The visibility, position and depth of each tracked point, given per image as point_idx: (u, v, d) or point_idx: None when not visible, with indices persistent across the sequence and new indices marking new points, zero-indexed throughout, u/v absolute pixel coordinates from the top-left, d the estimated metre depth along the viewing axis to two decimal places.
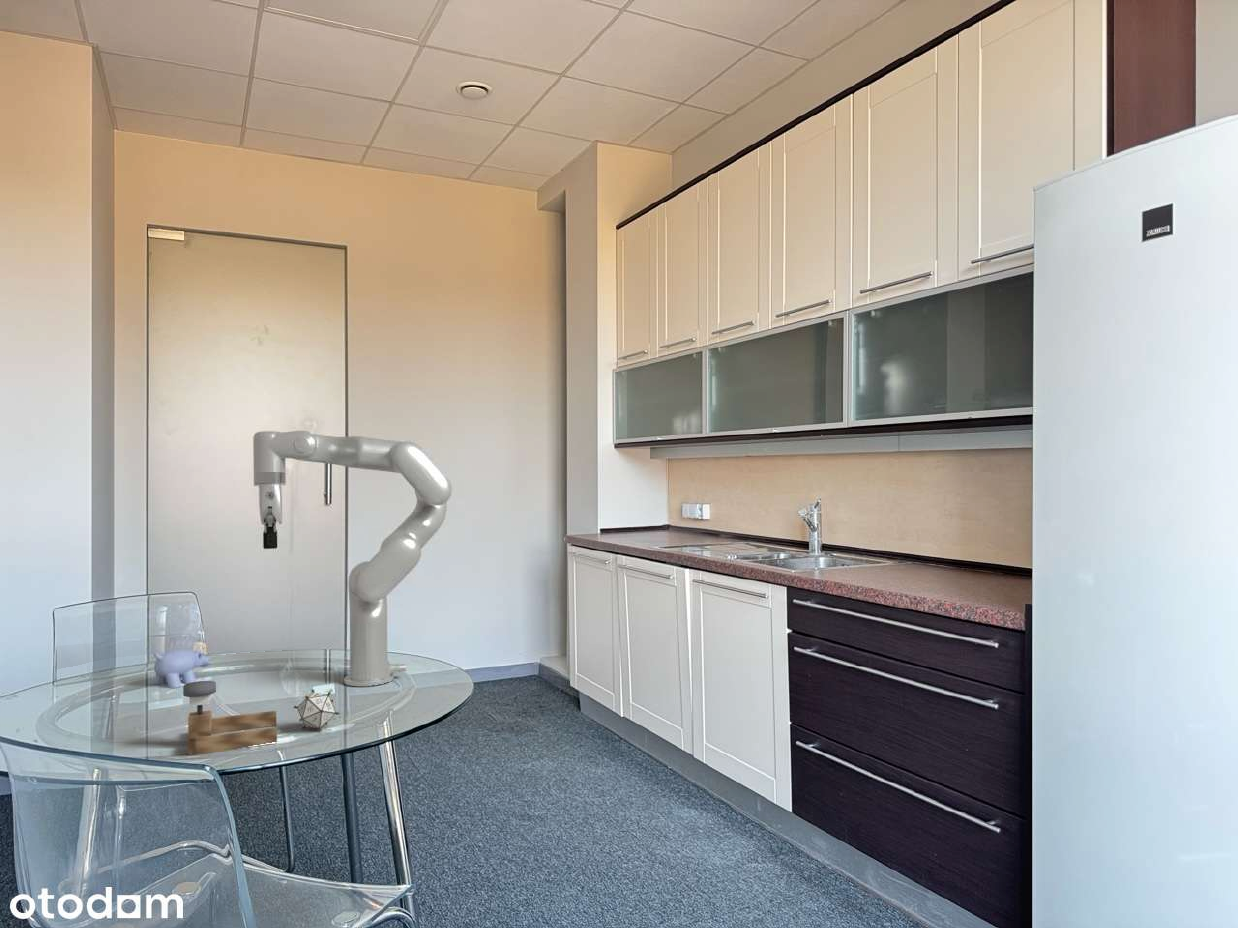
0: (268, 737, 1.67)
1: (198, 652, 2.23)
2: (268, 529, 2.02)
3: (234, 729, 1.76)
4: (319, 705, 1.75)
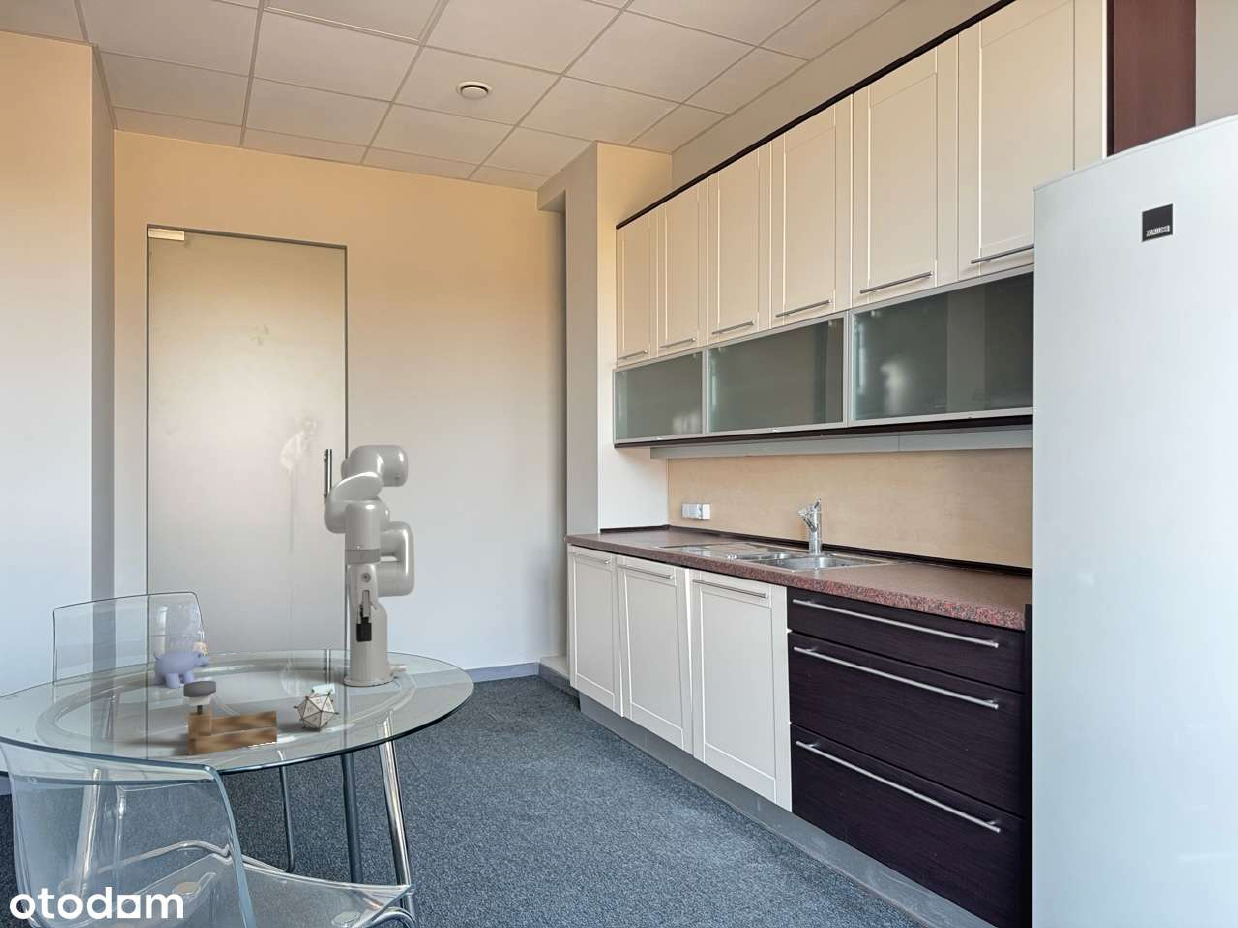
0: (268, 737, 1.67)
1: (198, 652, 2.23)
2: (363, 620, 1.79)
3: (234, 729, 1.76)
4: (319, 705, 1.75)
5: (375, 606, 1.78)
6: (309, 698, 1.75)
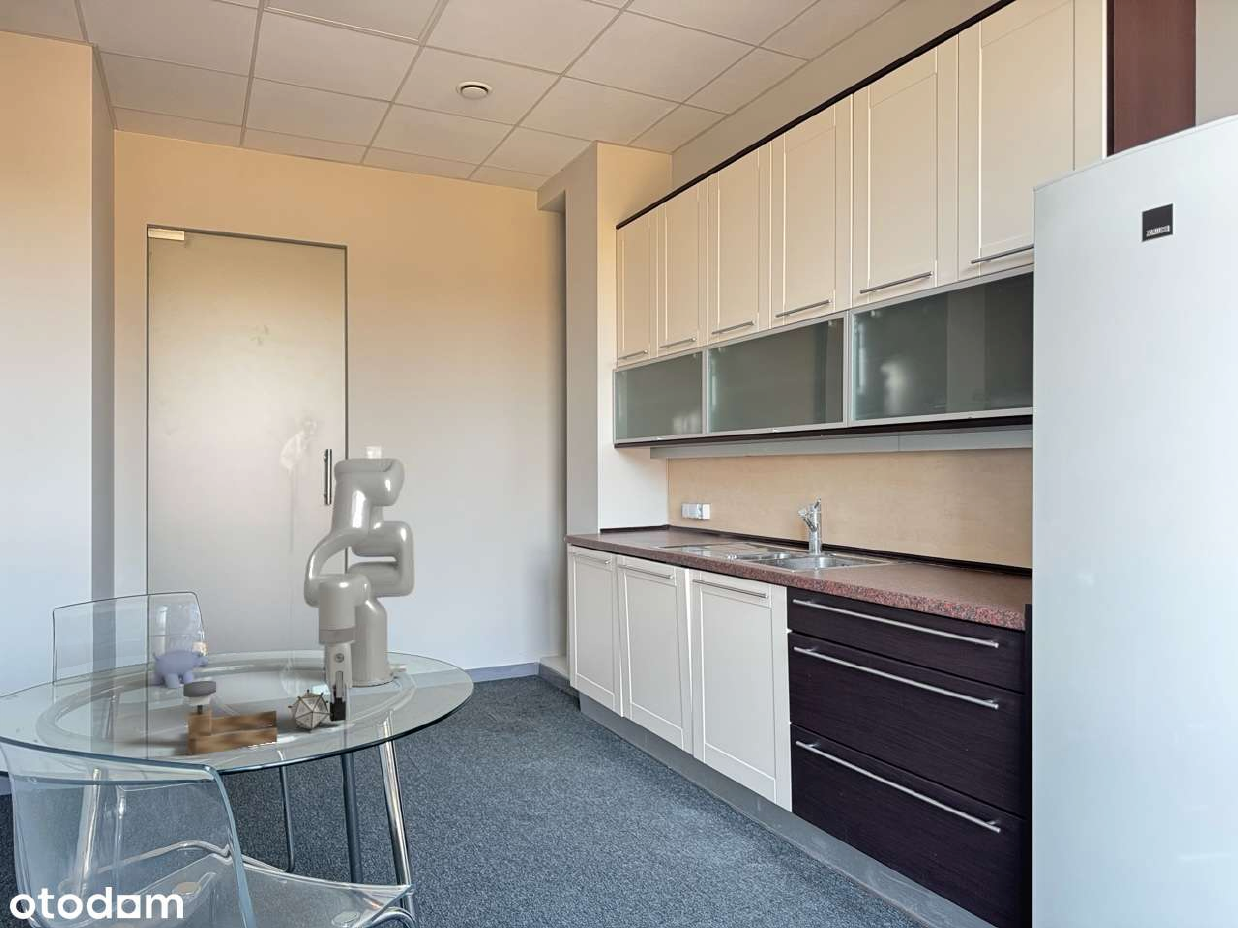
0: (268, 737, 1.67)
1: (197, 652, 2.22)
2: (336, 700, 1.77)
3: (234, 729, 1.76)
4: (310, 706, 1.74)
5: (349, 686, 1.75)
6: (301, 698, 1.75)
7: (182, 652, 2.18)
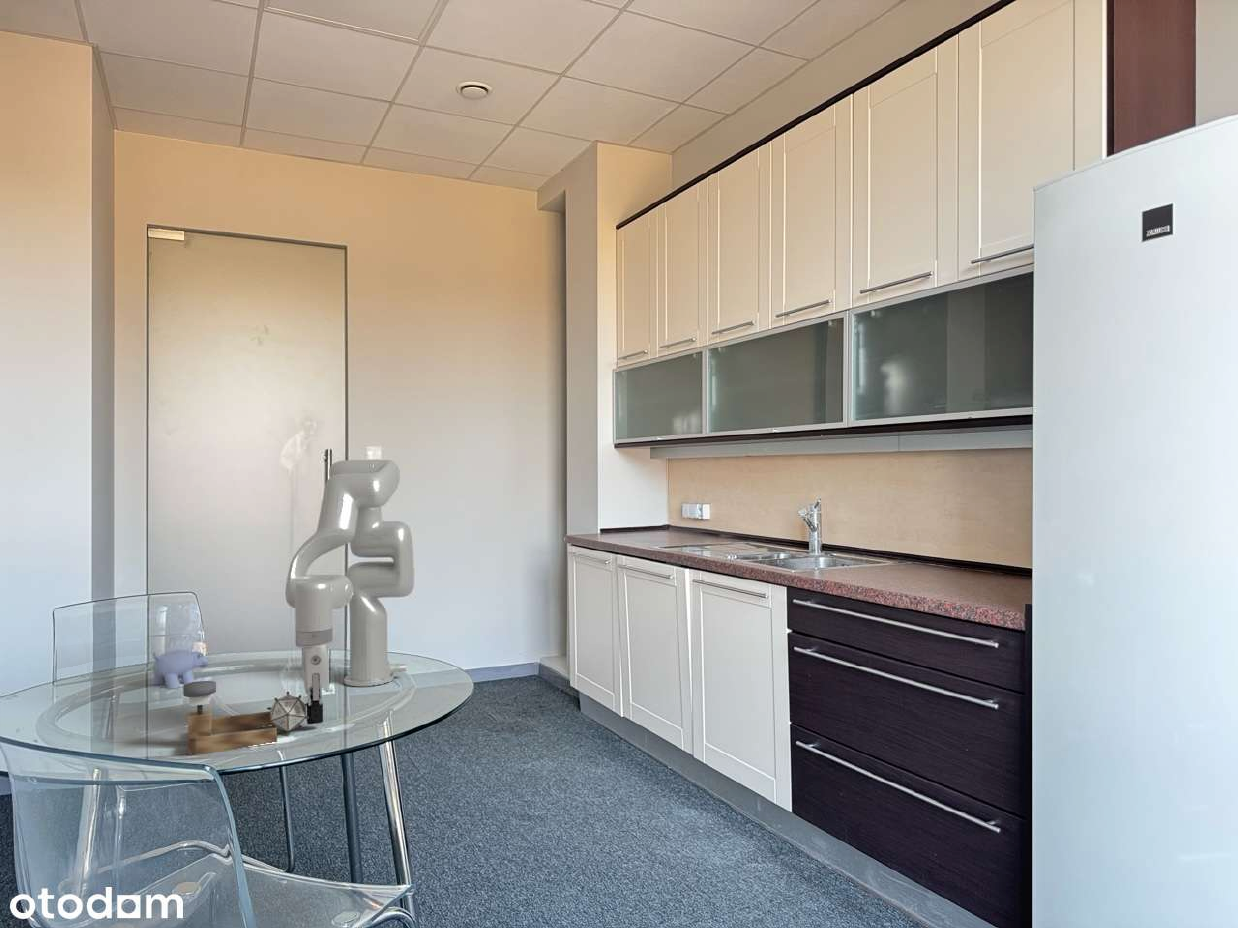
0: (268, 737, 1.67)
1: (197, 653, 2.22)
2: (313, 702, 1.75)
3: (234, 729, 1.76)
4: (287, 708, 1.73)
5: (325, 689, 1.74)
6: (278, 700, 1.74)
7: (182, 652, 2.18)
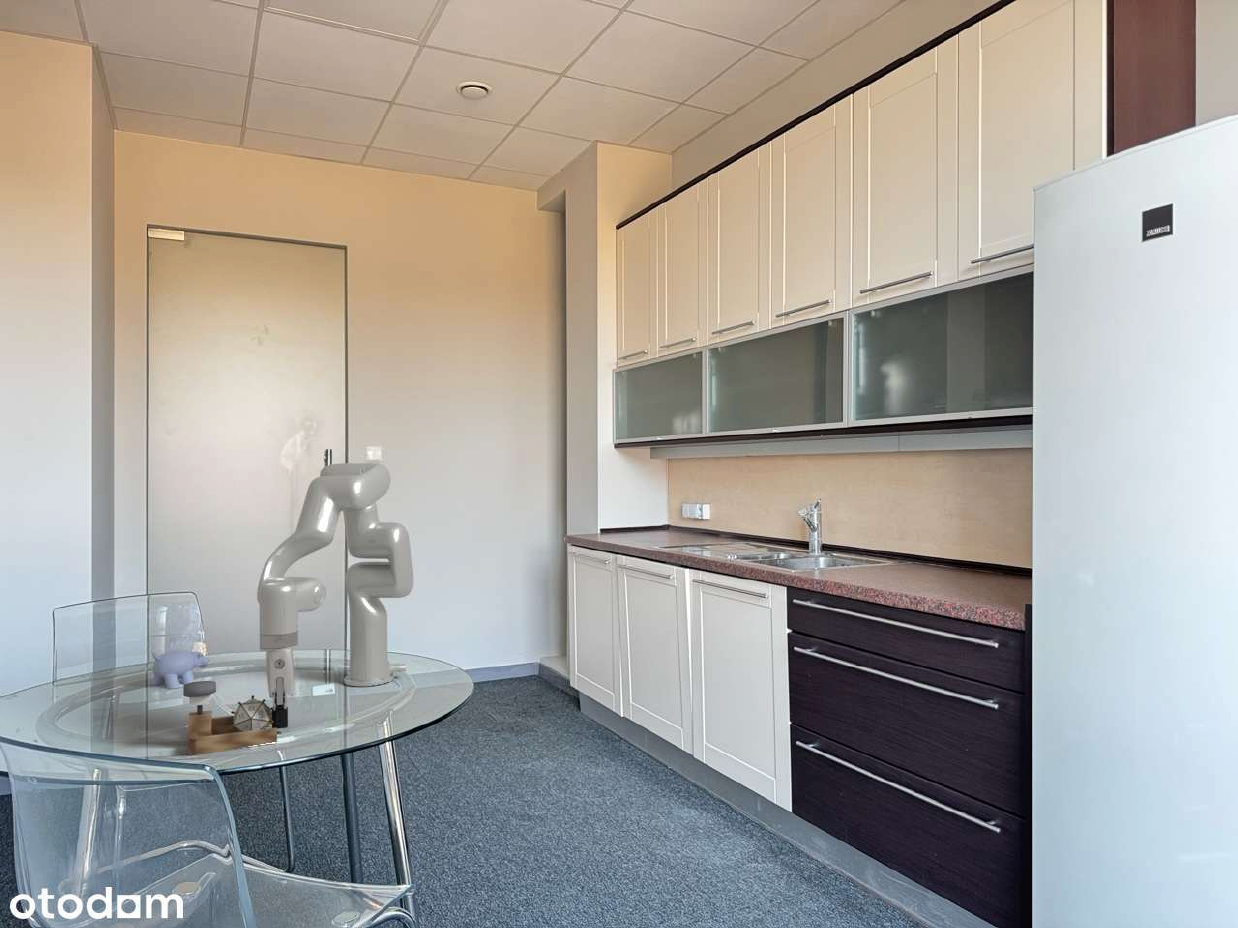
0: (268, 737, 1.67)
1: (197, 653, 2.22)
2: (277, 707, 1.72)
3: (234, 729, 1.76)
4: (250, 712, 1.70)
5: (290, 693, 1.71)
6: (242, 704, 1.71)
7: (182, 652, 2.18)
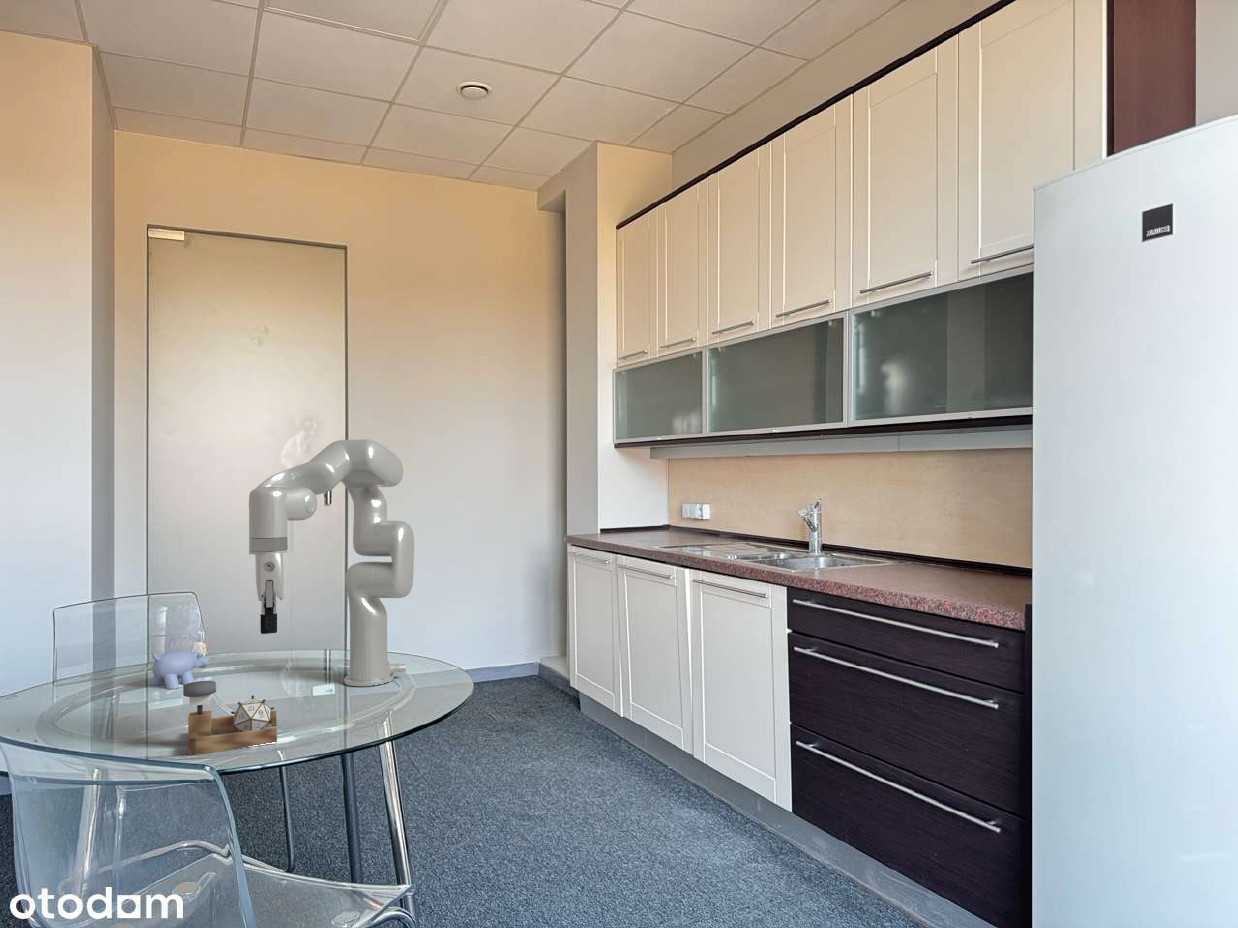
0: (268, 737, 1.67)
1: (196, 653, 2.22)
2: (267, 611, 1.72)
3: (234, 729, 1.76)
4: (250, 713, 1.70)
5: (279, 596, 1.70)
6: (242, 705, 1.71)
7: (181, 652, 2.18)
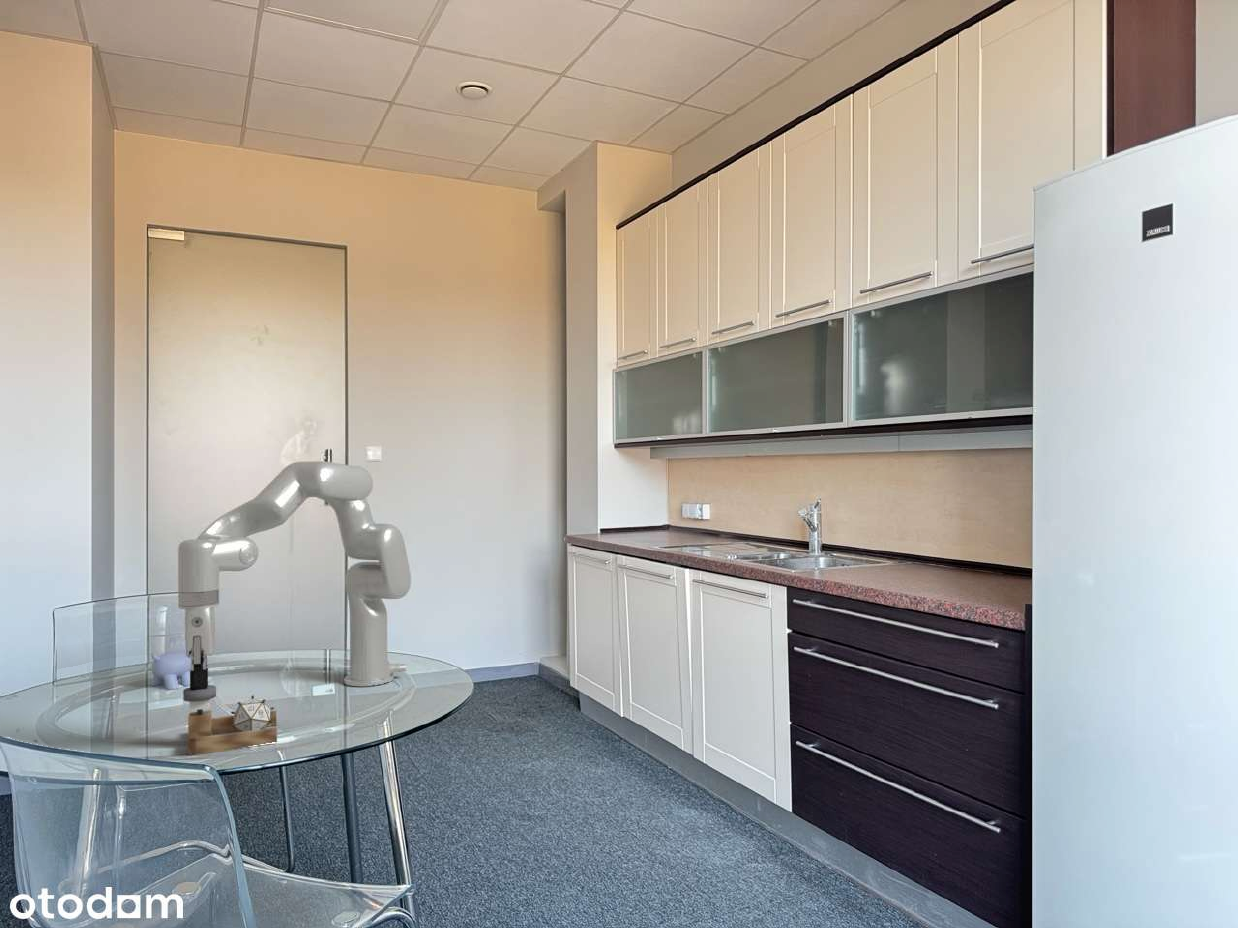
0: (268, 737, 1.67)
1: None
2: (196, 667, 1.66)
3: (234, 729, 1.76)
4: (250, 713, 1.70)
5: (208, 653, 1.65)
6: (242, 705, 1.71)
7: (181, 653, 2.17)
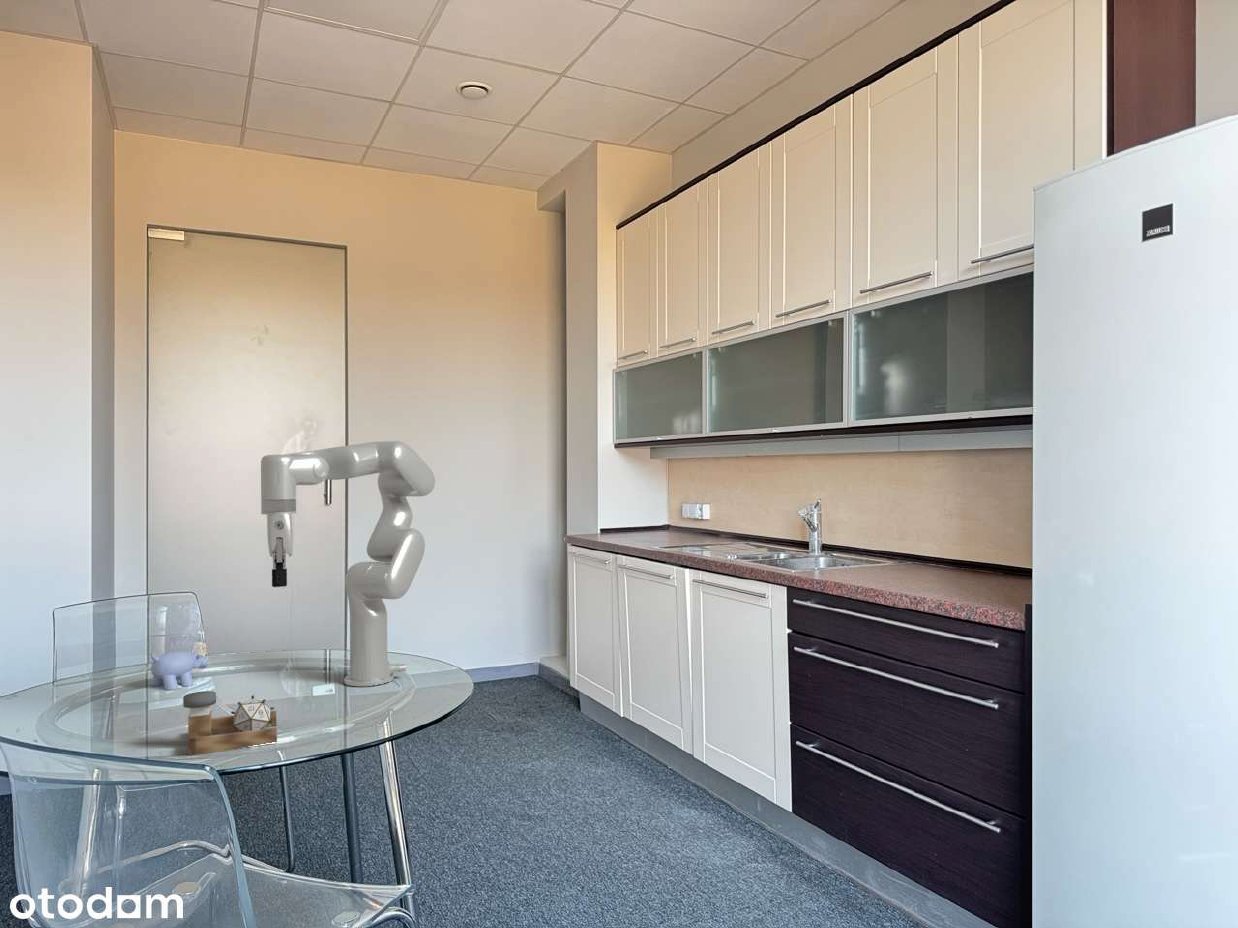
0: (268, 737, 1.67)
1: (196, 654, 2.21)
2: (277, 566, 1.89)
3: (234, 729, 1.76)
4: (250, 713, 1.70)
5: (288, 552, 1.87)
6: (242, 705, 1.71)
7: (180, 653, 2.17)
